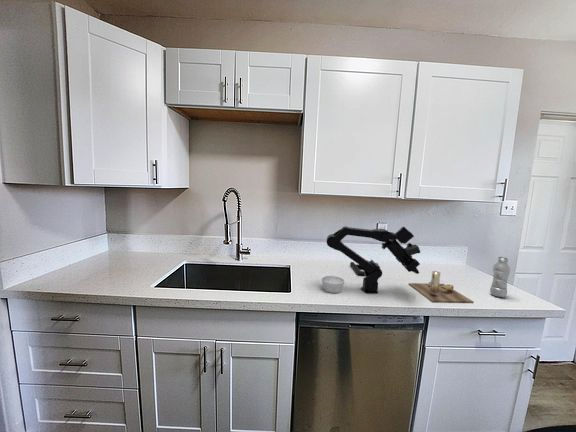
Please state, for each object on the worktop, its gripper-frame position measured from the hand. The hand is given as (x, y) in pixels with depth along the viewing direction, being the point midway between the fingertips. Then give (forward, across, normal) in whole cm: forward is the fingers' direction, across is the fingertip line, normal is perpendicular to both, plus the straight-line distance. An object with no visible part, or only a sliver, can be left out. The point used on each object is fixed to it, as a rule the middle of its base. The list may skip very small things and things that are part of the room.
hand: (418, 273), depth 121 cm
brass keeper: (+19, +5, -4) cm, 20 cm away
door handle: (-6, +31, +23) cm, 39 cm away
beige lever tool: (+14, +6, 0) cm, 16 cm away
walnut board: (+17, +5, -1) cm, 18 cm away
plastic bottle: (+38, +9, -22) cm, 45 cm away
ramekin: (-21, -3, +38) cm, 43 cm away
